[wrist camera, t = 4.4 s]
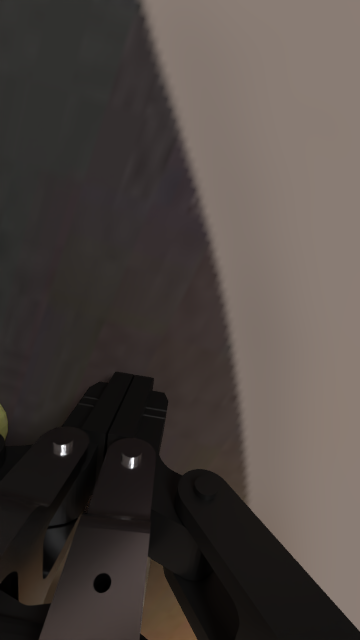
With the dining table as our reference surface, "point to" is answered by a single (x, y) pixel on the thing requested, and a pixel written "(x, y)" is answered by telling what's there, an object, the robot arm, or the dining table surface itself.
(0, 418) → the key
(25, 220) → the dining table surface
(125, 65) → the dining table surface
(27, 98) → the dining table surface
